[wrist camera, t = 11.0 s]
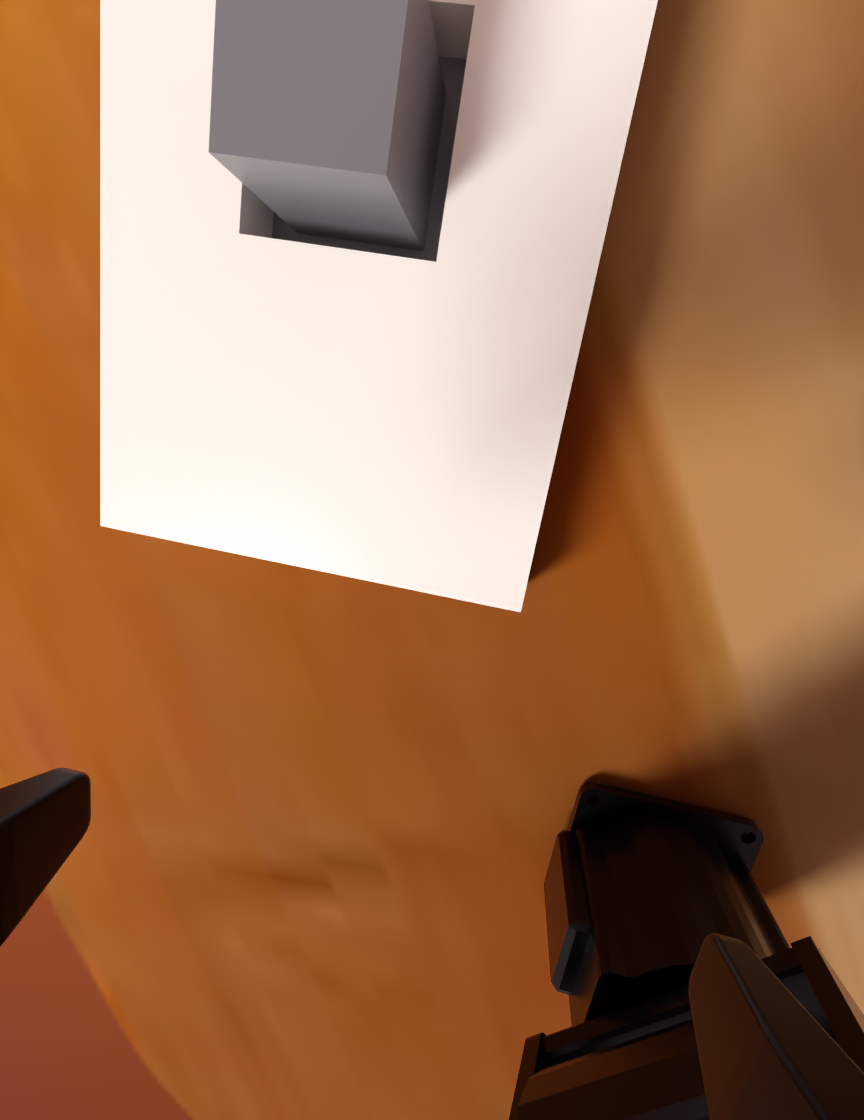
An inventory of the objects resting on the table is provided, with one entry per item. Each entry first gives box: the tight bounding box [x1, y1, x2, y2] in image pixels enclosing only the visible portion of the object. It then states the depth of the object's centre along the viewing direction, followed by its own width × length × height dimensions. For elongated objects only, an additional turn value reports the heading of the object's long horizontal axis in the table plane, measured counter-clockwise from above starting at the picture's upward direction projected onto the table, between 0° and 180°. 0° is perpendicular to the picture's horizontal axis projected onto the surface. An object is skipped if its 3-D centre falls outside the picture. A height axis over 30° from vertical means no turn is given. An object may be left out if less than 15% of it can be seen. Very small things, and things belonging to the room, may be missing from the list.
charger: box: [209, 0, 446, 251], centre depth 13 cm, size 4×4×5 cm
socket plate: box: [100, 0, 658, 612], centre depth 16 cm, size 14×18×2 cm
